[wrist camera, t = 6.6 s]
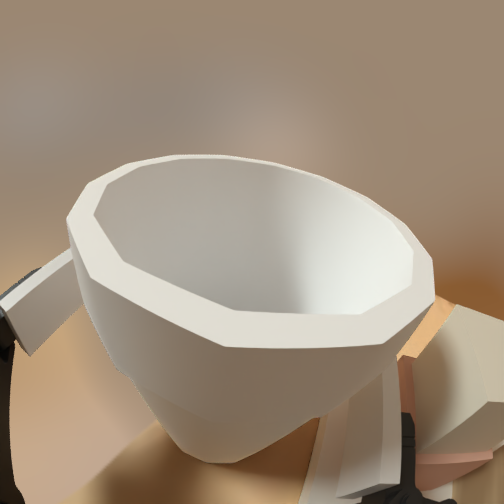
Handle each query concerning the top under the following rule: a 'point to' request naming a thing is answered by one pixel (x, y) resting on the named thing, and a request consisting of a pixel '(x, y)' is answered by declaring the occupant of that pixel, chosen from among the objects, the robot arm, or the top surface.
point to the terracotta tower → (455, 397)
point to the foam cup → (243, 293)
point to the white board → (330, 459)
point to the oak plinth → (482, 483)
